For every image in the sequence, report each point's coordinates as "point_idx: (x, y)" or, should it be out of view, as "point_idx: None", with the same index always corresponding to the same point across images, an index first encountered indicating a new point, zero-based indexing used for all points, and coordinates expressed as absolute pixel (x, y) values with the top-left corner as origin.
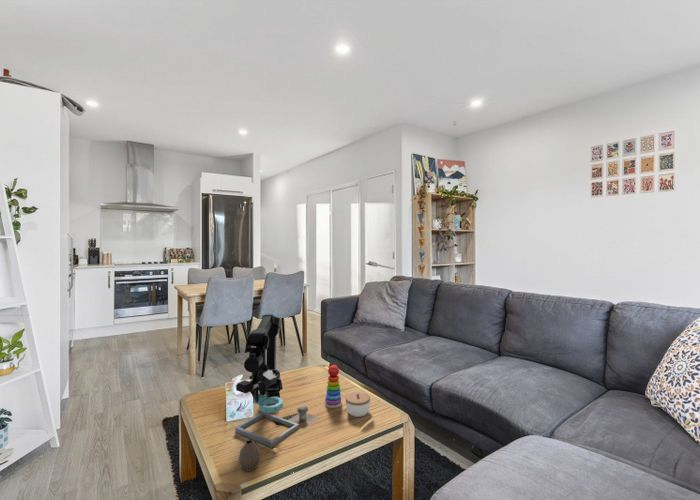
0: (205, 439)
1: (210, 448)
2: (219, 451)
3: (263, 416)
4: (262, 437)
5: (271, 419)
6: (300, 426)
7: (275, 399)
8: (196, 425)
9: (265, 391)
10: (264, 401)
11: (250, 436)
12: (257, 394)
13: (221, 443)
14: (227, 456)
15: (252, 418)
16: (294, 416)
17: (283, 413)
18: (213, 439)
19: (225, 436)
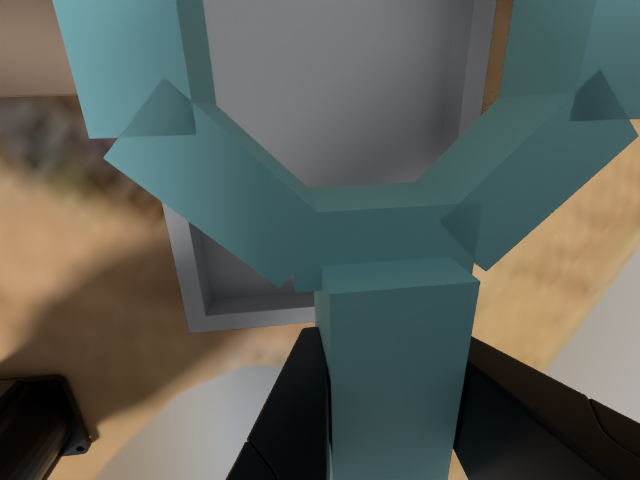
0: (536, 358)
1: (593, 273)
2: (603, 211)
3: (213, 301)
4: (478, 14)
5: None
6: None
7: (189, 50)
8: (460, 477)
9: (261, 441)
10: (417, 203)
11: None
12: (595, 426)
13: (539, 268)
14: (634, 128)
15: (310, 317)
16: (6, 85)
17: (52, 240)
18: (523, 330)
19: (478, 308)
